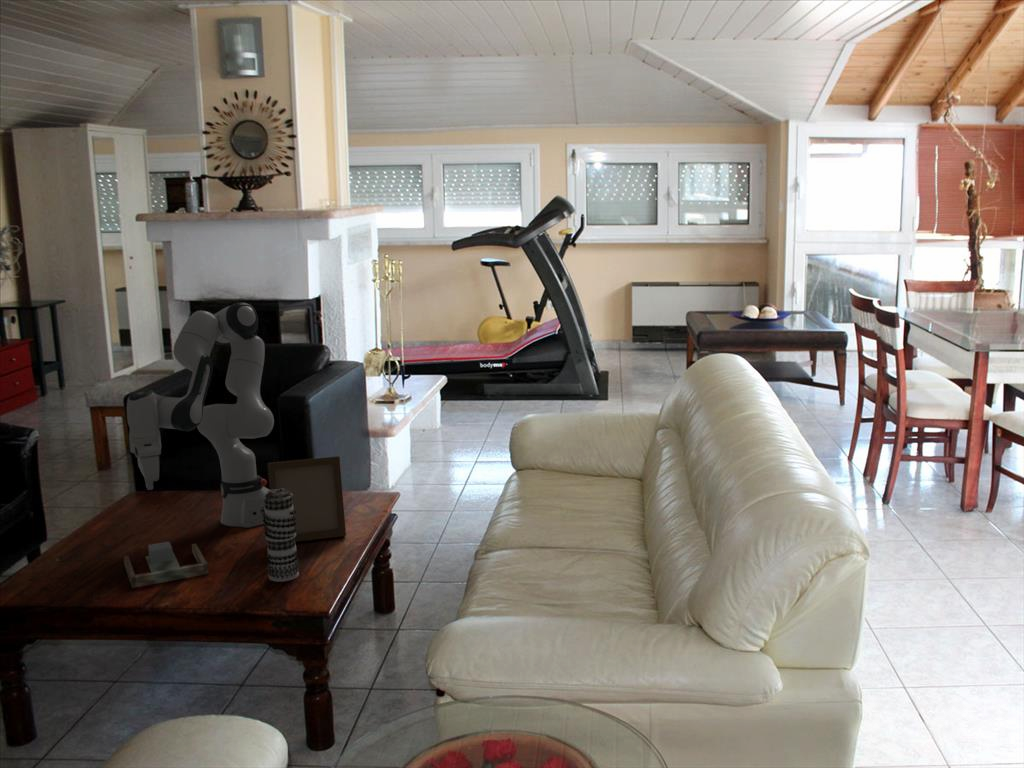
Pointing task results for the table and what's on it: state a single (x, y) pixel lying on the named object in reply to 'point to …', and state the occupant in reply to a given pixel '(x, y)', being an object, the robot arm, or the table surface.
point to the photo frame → (312, 495)
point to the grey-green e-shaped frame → (167, 570)
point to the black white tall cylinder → (280, 535)
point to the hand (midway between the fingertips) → (149, 488)
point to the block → (160, 552)
